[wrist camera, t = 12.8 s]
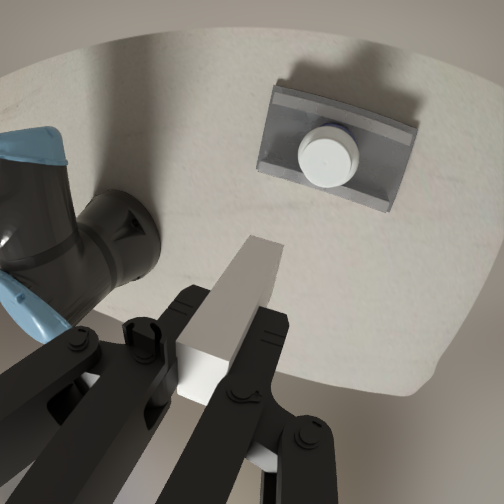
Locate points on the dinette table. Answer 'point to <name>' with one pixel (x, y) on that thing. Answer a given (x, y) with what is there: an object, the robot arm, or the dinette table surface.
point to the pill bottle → (329, 155)
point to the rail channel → (364, 129)
